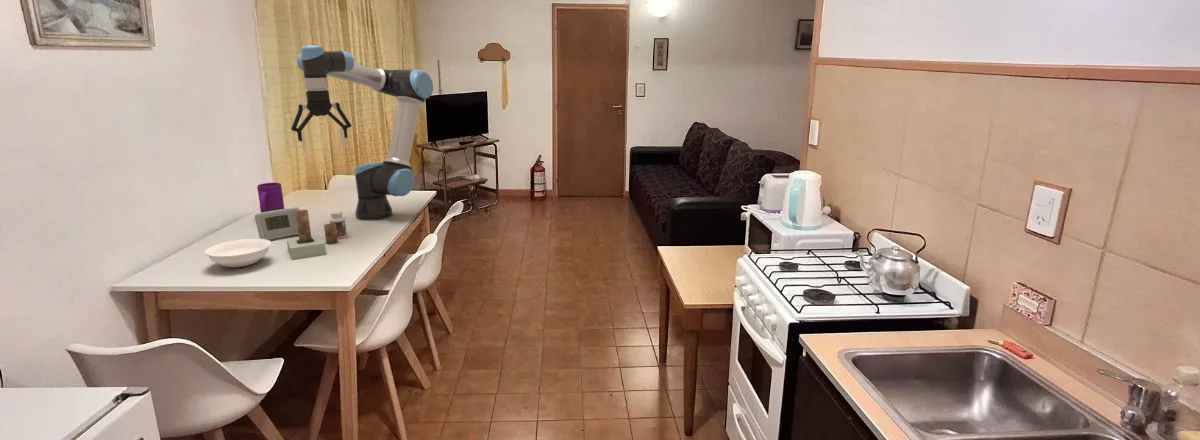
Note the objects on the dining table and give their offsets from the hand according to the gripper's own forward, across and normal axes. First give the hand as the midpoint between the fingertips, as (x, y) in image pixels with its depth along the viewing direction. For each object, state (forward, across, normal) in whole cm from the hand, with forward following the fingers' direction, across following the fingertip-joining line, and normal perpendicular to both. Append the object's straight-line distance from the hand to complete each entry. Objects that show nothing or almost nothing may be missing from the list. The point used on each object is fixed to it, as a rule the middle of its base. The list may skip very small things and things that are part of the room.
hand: (324, 148), depth 235 cm
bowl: (+35, +32, +16) cm, 50 cm away
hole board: (+35, +12, +12) cm, 38 cm away
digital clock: (+35, +18, -14) cm, 41 cm away
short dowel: (+35, +2, +5) cm, 35 cm away
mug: (+35, +19, -45) cm, 60 cm away
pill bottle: (+35, -2, -2) cm, 35 cm away
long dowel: (+35, +11, +12) cm, 38 cm away
